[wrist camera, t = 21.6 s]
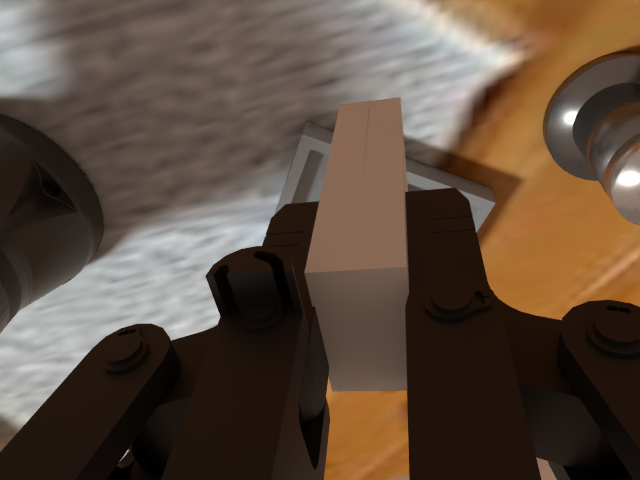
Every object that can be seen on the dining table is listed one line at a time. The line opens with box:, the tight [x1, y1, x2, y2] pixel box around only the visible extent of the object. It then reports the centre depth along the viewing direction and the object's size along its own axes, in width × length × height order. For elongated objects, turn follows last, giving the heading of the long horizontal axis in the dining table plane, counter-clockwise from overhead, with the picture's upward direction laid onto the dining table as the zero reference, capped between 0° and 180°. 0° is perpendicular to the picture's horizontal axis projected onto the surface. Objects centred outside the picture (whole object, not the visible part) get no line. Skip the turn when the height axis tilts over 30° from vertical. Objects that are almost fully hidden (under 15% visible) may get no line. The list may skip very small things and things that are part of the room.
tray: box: [275, 122, 496, 233], centre depth 39 cm, size 14×14×2 cm
